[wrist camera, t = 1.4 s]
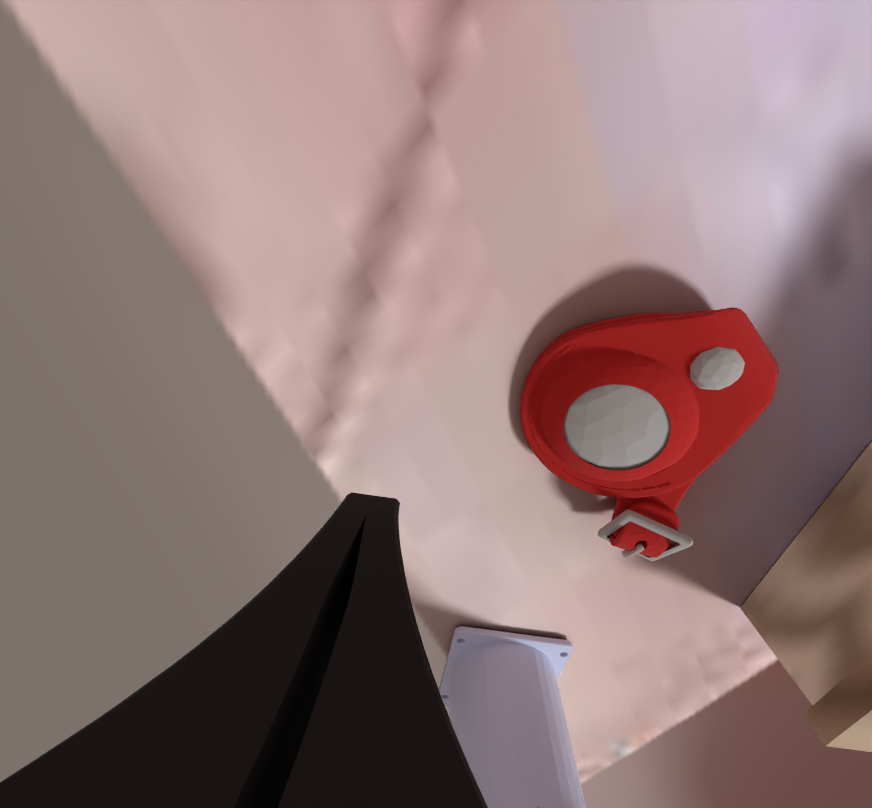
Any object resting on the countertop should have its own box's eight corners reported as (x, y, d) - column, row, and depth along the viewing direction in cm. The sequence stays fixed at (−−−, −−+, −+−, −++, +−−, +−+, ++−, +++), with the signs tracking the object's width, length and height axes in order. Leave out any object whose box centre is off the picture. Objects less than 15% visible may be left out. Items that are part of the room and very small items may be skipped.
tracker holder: (470, 403, 16) (715, 243, 11) (494, 371, 20) (687, 239, 15) (624, 600, 18) (914, 543, 12) (620, 536, 21) (842, 470, 16)
